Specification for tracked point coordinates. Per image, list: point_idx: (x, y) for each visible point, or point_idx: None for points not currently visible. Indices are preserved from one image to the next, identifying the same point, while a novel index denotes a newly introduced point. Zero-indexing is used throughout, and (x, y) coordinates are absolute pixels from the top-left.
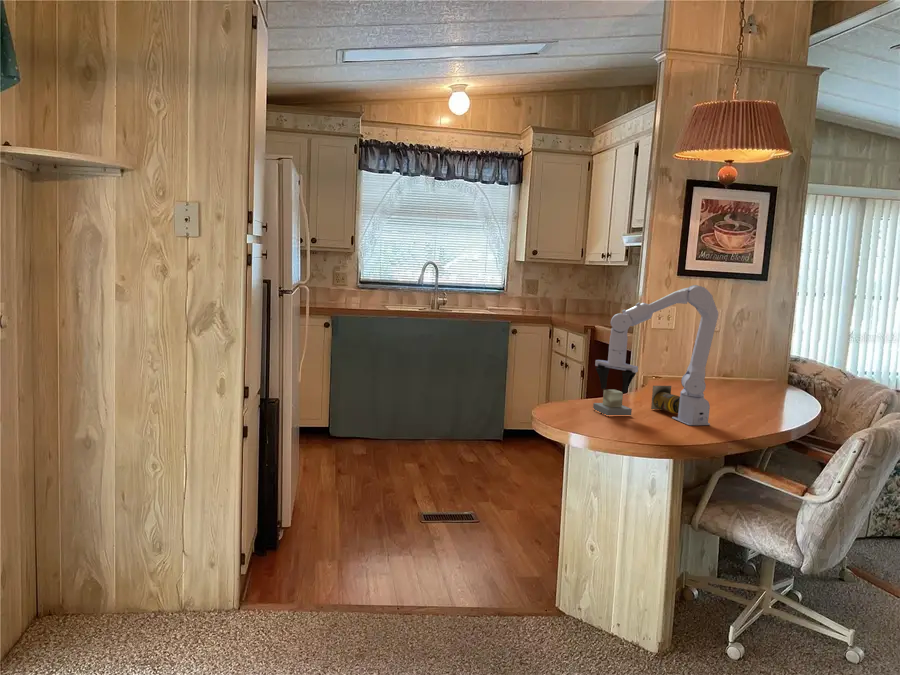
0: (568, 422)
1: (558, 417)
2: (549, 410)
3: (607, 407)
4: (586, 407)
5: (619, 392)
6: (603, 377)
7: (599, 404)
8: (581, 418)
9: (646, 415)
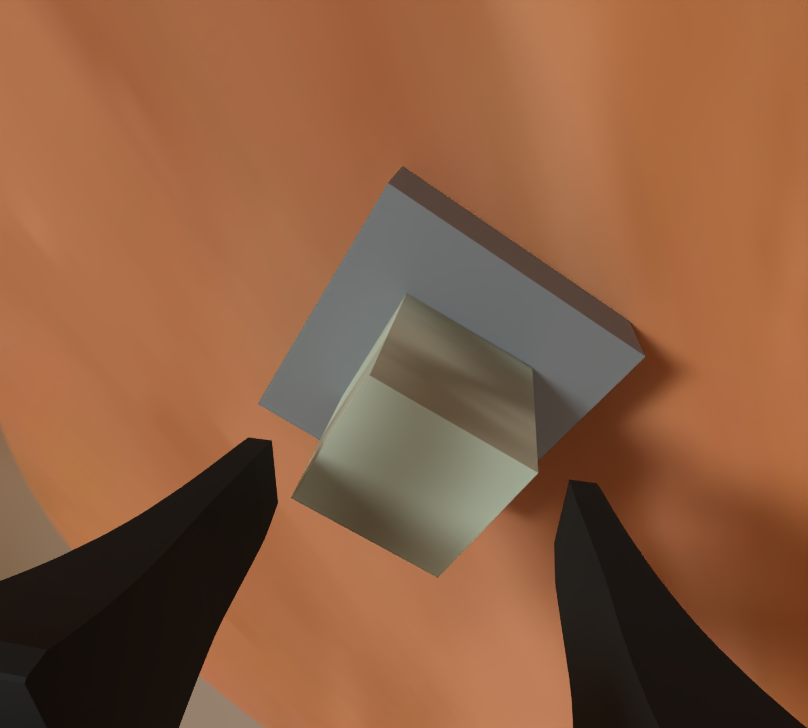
0: (375, 705)
1: (279, 658)
2: None
3: None
4: (186, 311)
5: (503, 508)
6: (200, 638)
7: (323, 416)
8: (372, 610)
9: (775, 128)
